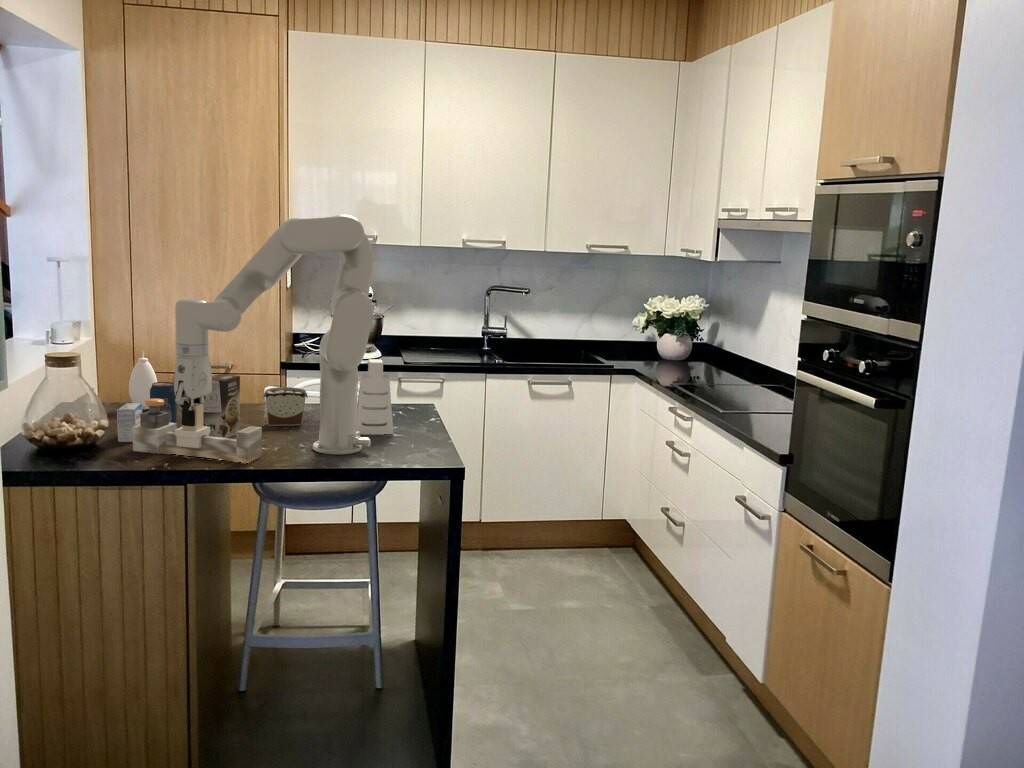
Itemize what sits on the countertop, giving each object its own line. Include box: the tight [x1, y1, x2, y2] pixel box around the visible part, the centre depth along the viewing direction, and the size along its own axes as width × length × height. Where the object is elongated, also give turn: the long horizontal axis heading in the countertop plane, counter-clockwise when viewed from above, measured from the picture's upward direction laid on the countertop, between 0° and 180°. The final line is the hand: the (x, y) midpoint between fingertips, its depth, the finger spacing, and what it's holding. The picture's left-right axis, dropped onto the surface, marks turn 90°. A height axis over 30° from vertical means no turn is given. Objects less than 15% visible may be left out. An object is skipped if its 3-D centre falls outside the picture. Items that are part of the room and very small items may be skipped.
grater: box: [356, 358, 394, 435], centre depth 259 cm, size 10×10×20 cm
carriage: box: [175, 403, 210, 448], centre depth 225 cm, size 6×6×10 cm
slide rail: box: [132, 410, 263, 464], centre depth 225 cm, size 30×8×9 cm, turn 78°
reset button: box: [145, 399, 164, 415], centre depth 226 cm, size 4×4×4 cm
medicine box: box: [116, 402, 143, 443], centre depth 235 cm, size 8×4×9 cm, turn 9°
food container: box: [262, 386, 308, 427], centre depth 262 cm, size 12×6×10 cm, turn 108°
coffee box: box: [203, 373, 241, 439], centre depth 242 cm, size 9×6×16 cm
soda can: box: [150, 381, 178, 424], centre depth 249 cm, size 7×7×12 cm
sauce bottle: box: [128, 349, 158, 410], centre depth 267 cm, size 8×8×18 cm
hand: (192, 423), depth 225 cm, fingers closed on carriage, 3 cm apart
